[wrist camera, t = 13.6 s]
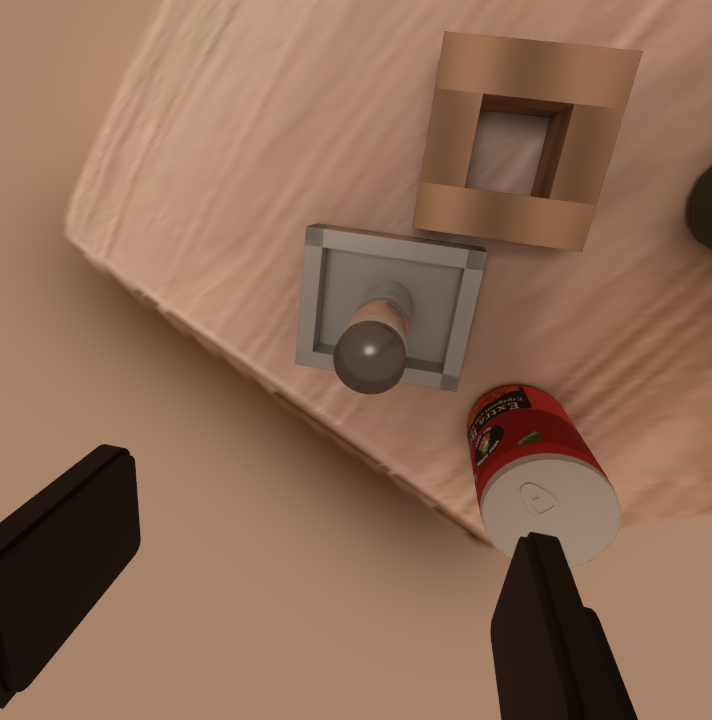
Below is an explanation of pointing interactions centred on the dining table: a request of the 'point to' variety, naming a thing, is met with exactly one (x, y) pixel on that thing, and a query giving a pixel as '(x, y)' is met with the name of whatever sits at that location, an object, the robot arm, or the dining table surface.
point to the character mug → (703, 210)
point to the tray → (400, 264)
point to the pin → (375, 340)
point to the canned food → (538, 475)
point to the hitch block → (533, 98)
